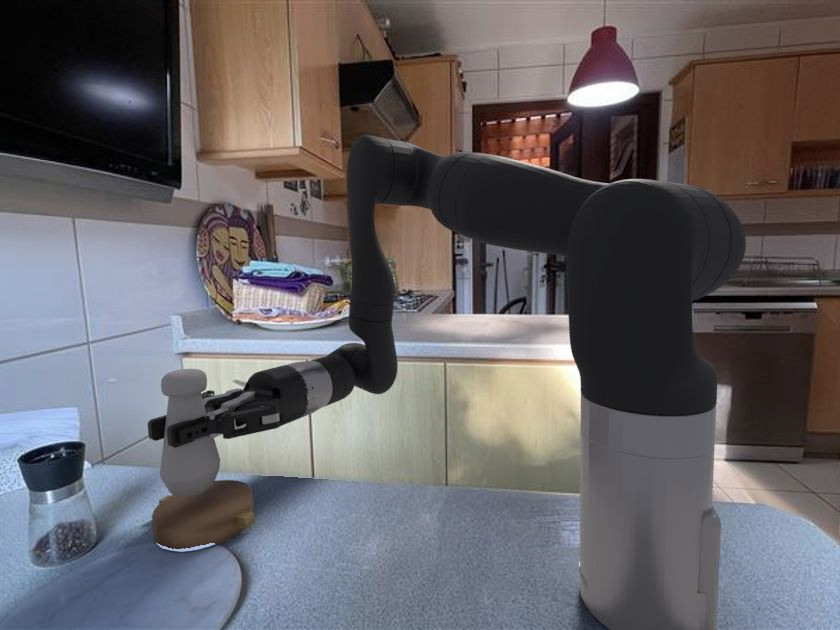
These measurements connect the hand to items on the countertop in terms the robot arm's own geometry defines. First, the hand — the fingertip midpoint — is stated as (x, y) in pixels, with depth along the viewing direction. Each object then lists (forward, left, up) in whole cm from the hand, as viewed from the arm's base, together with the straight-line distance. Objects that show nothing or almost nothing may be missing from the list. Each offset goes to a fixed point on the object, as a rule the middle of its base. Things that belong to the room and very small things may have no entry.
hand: (160, 434), depth 44 cm
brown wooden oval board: (-1, -4, -12) cm, 12 cm away
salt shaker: (0, -3, -7) cm, 8 cm away
